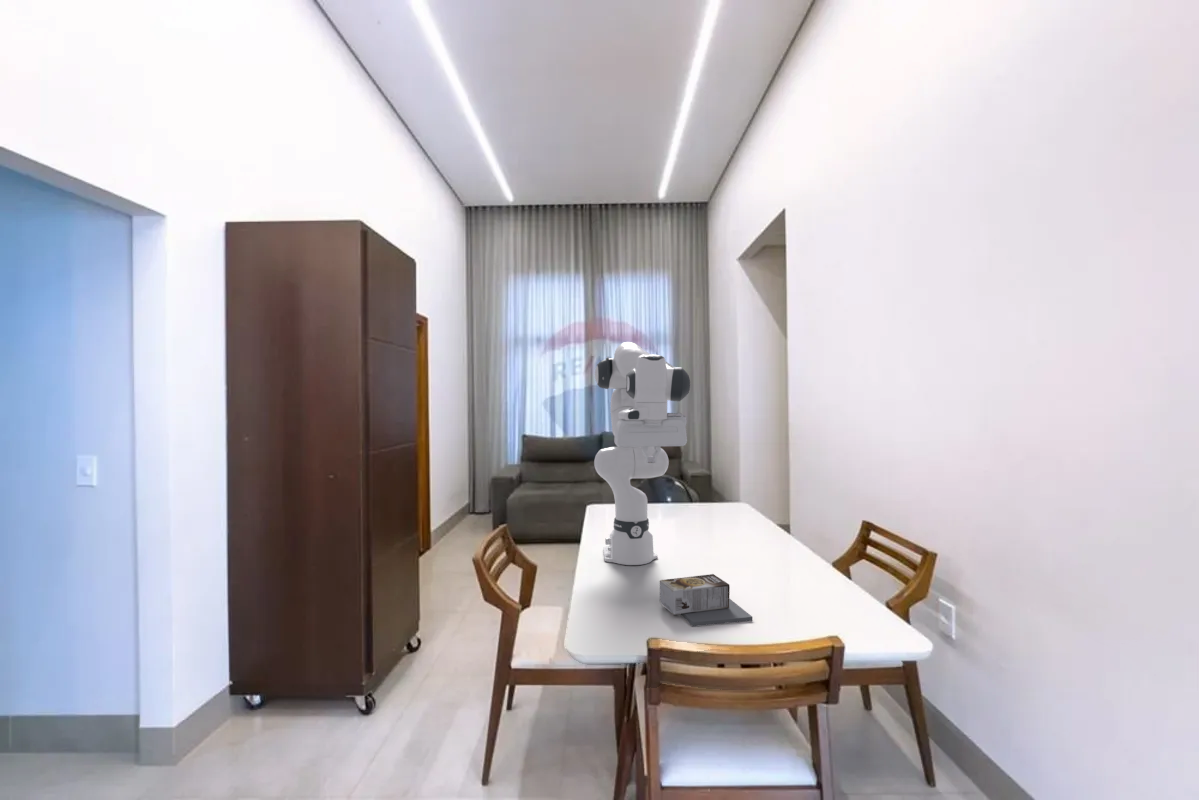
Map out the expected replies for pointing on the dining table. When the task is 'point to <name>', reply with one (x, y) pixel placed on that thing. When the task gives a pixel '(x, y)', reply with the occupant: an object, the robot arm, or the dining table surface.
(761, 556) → the dining table surface
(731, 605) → the mat
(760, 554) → the dining table surface
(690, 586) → the coffee box
